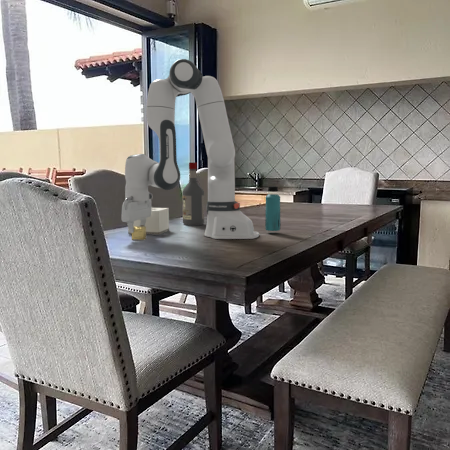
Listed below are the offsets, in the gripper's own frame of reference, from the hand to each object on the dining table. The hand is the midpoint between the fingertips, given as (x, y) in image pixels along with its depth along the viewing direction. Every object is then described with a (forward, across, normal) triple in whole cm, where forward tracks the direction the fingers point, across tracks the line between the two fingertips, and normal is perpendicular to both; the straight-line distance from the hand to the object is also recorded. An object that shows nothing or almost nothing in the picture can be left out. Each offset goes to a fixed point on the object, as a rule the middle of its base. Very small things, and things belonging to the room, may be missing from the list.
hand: (137, 230), depth 176 cm
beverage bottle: (+2, +26, -50) cm, 57 cm away
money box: (+3, +18, +2) cm, 18 cm away
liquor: (+3, +46, -9) cm, 46 cm away
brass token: (+3, 0, -1) cm, 3 cm away
